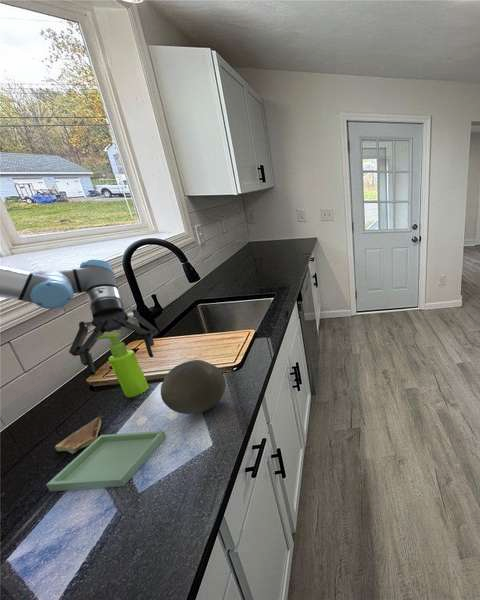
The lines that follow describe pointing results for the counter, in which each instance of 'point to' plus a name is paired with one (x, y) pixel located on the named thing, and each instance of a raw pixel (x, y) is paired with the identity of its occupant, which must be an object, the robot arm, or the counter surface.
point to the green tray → (108, 461)
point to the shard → (81, 437)
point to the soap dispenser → (126, 367)
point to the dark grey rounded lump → (193, 387)
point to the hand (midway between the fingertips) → (123, 364)
